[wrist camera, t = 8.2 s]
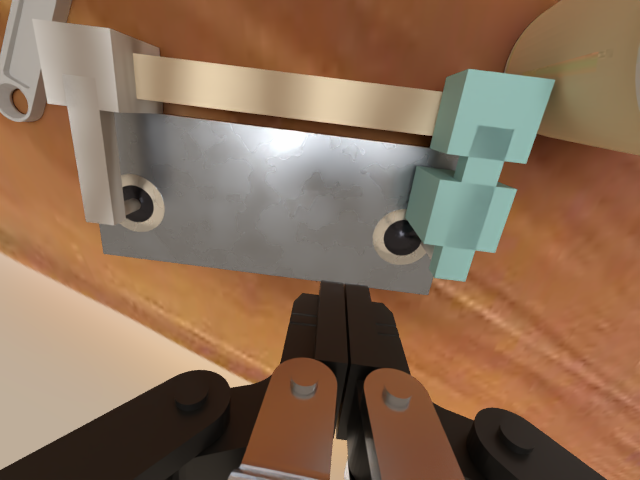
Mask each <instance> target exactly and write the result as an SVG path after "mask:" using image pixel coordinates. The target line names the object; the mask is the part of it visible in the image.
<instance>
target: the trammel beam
mask: <svg viewBox="0 0 640 480" xmlns="http://www.w3.org/2000/svg"><path fill="white" fill-rule="evenodd" d="M32 21H33V27H34V32H35V38H36V43H37V49H38V54H39V59H40V65H41V70H42V76H43V81H44V87H45V92H46V97H47V103H48V104H55V105H63V106H67V108H68V114H69V120H70V126H71V132H72V138H73V145H74V151H75V157H76V163H77V169H78V175H79V181H80V187H81V194H82V200H83V206H84V212H85V218H86V222H92V223H100V224H107V225H116V224H118V223H120V222H122V221H124V220H126V215H128V214H130V213H132V212H134V211H136V210H138V209H140V207H141V204H140V202H139V201H138V200H137V199H135V198H132V199H129V200H126V201H124V198H123V189H122V180H121V171H120V163H119V154H118V145H117V136H116V128H115V119H114V112H118V113H152V114H163V102H166V103H174V104H182V105H190V106H198V107H206V108H214V109H222V110H230V111H238V112H246V113H254V114H261V115H269V116H277V117H285V118H293V119H301V120H309V121H317V122H325V123H333V124H341V125H349V126H357V127H365V128H373V129H381V130H389V131H397V132H405V133H413V134H421V135H429V136H433V132H434V128H435V124H436V120H437V115H438V111H439V107H440V103H441V98H442V94H443V92H439V91H431V90H423V89H415V88H407V87H399V86H391V85H383V84H375V83H367V82H359V81H351V80H343V79H335V78H327V77H319V76H311V75H303V74H295V73H287V72H279V71H271V70H263V69H255V68H247V67H239V66H231V65H223V64H215V63H207V62H199V61H191V60H183V59H175V58H167V57H160V51H159V48H158V47H155V46H153V45H150V44H148V43H145V42H143V41H140V40H138V39H135V38H133V37H130V36H128V35H125V34H123V33H120V32H118V31H115V30H113V29H110V28H103V27H95V26H87V25H79V24H71V23H63V22H55V21H47V20H39V19H32Z"/></svg>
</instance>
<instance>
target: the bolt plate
mask: <svg viewBox="0 0 640 480" xmlns="http://www.w3.org/2000/svg"><path fill="white" fill-rule="evenodd" d="M114 119H115V128H116V136H117V145H118V154H119V163H120V171H121V180H122V189H123V198H124V201H126V200H129V199H132V198H135V199H137V200H138V201H139V202H140V204H141V207H140V209H138V210H136V211H134V212H132V213H130V214H128V215H126V220H124V221H122V222H120V223H118V224H116V225H107V224H100V223H99V226H100V232H101V239H102V246H103V253H104V254H110V255H117V256H125V257H133V258H141V259H149V260H157V261H164V262H172V263H180V264H188V265H196V266H204V267H211V268H219V269H227V270H235V271H243V272H251V273H258V274H266V275H274V276H282V277H290V278H298V279H305V280H313V281H321V280H326V281H334V282H342V283H344V284H345V283H351V284H359V285H367V286H368V287H369V288H376V289H384V290H392V291H400V292H407V293H415V294H423V295H428V294H429V290H430V287H431V283H432V279H433V275H432V273H431V271H430V270H429V266H430V262H431V259H430V257H429V256H428V254H427V253H426V251H425V250H424V248H423V247H422V245H421V239H420V238H419V236H418V235H417V233H416V232H415V231H414V229H413V228H412V226H411V225H410V223H409V222H408V220H407V219H406V218H405V215H406V211H407V207H408V202H409V198H410V193H411V189H412V184H413V180H414V176H415V171H416V167H417V166H422V167H430V168H438V169H446V170H454V171H455V170H456V166H457V163H458V159H459V155H452V154H446V153H442V152H439V151H436V150H433V149H430V147H423V146H415V145H407V144H399V143H391V142H383V141H375V140H367V139H359V138H351V137H343V136H335V135H328V134H320V133H312V132H304V131H296V130H288V129H280V128H272V127H264V126H256V125H248V124H240V123H232V122H224V121H216V120H208V119H200V118H192V117H185V116H177V115H169V114H152V113H118V112H114Z"/></svg>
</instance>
